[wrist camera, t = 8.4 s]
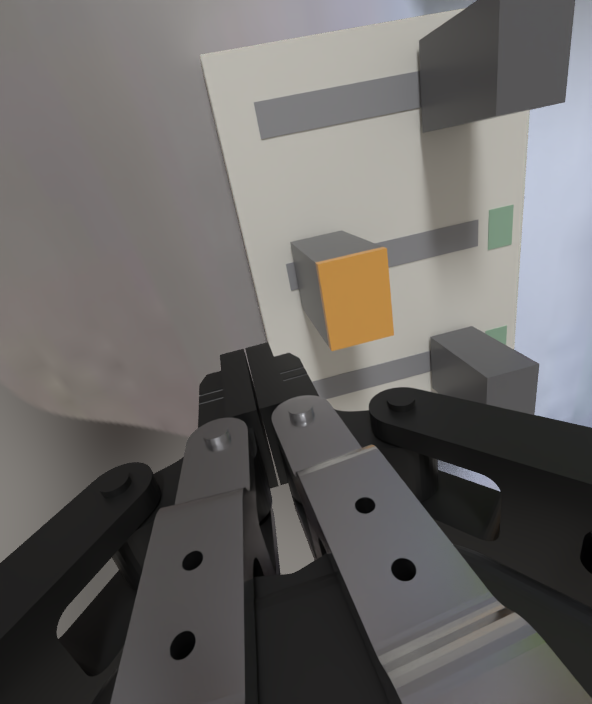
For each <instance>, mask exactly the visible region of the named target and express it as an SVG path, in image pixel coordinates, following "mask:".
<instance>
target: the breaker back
mask: <svg viewBox="0 0 592 704" xmlns="http://www.w3.org/2000/svg"><path fill="white" fill-rule="evenodd" d="M430 341H431V367H432V388H433V389H434V390H435V391H436V392H437V393H438V394H442V395H447V396H451V397H456V398H460V399H465V400H469V401H474V402H478V403H483V404H487V405H492V406H496V407H501V408H505V409H510V410H514V411H519V412H523V413H528V414H532V415H534V412H535V402H536V392H537V382H538V371H539V364H538V363H537V362H535V361H533V360H531V359H530V358H528V357H526V356H524V355H523V354H521V353H519V352H517V351H515V350H514V349H512V348H510V347H508V346H507V345H505V344H503V343H501V342H500V341H498V340H496V339H494V338H492V337H491V336H489V335H487V334H485V333H484V332H482V331H480V330H478V329H477V328H475V327H473V326H470V327H466V328H462V329H458V330H455V331H451V332H447V333H443V334H439V335H435V336H431V337H430Z"/></svg>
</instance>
